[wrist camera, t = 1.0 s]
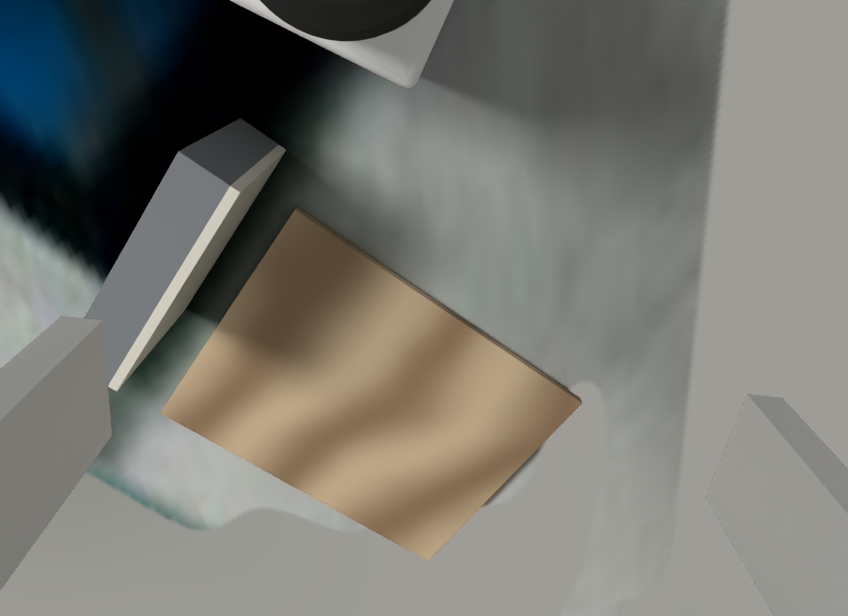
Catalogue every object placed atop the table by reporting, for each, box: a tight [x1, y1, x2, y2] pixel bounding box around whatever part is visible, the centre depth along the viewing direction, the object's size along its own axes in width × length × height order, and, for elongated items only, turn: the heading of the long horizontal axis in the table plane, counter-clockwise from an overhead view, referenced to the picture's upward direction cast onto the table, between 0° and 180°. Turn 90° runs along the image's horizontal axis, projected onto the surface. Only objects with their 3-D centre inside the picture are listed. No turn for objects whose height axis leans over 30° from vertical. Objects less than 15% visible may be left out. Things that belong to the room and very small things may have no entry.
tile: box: [84, 118, 286, 391], centre depth 28 cm, size 2×10×8 cm, turn 144°
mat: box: [160, 207, 582, 561], centre depth 35 cm, size 18×14×1 cm
